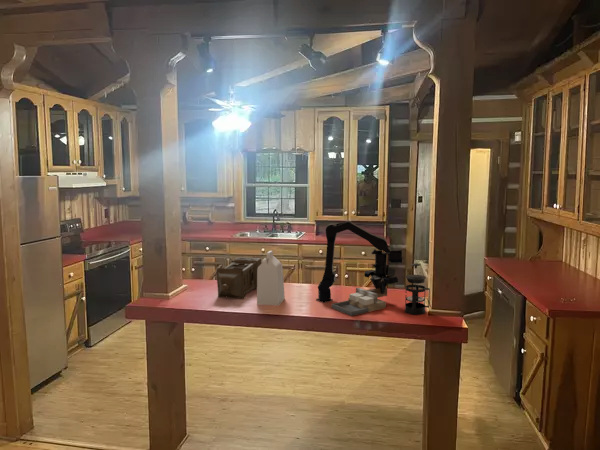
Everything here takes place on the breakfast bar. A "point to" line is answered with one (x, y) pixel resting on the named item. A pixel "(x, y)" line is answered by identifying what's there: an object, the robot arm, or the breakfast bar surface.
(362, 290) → the scraper
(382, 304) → the deck
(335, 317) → the breakfast bar surface
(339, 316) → the breakfast bar surface
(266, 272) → the milk
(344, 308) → the box
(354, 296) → the tile
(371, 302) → the tile
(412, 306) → the french press
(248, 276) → the ornamental box
